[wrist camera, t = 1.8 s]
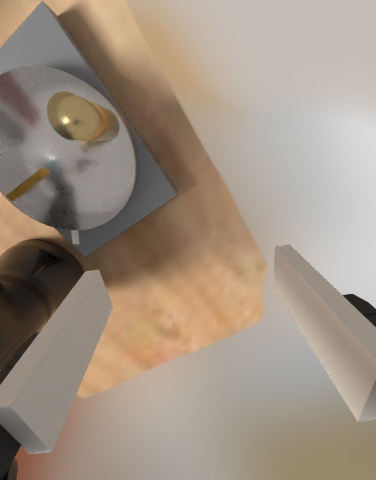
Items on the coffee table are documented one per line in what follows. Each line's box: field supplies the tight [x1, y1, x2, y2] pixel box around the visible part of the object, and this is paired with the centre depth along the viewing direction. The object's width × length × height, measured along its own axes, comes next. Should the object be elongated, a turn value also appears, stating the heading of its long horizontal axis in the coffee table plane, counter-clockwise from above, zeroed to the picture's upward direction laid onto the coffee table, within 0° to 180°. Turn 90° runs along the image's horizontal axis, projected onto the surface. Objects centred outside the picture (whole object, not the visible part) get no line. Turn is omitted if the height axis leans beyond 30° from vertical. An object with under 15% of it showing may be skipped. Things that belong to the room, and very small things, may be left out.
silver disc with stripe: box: [0, 65, 138, 230], centre depth 24 cm, size 20×20×11 cm
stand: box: [0, 1, 177, 257], centre depth 31 cm, size 26×20×3 cm
